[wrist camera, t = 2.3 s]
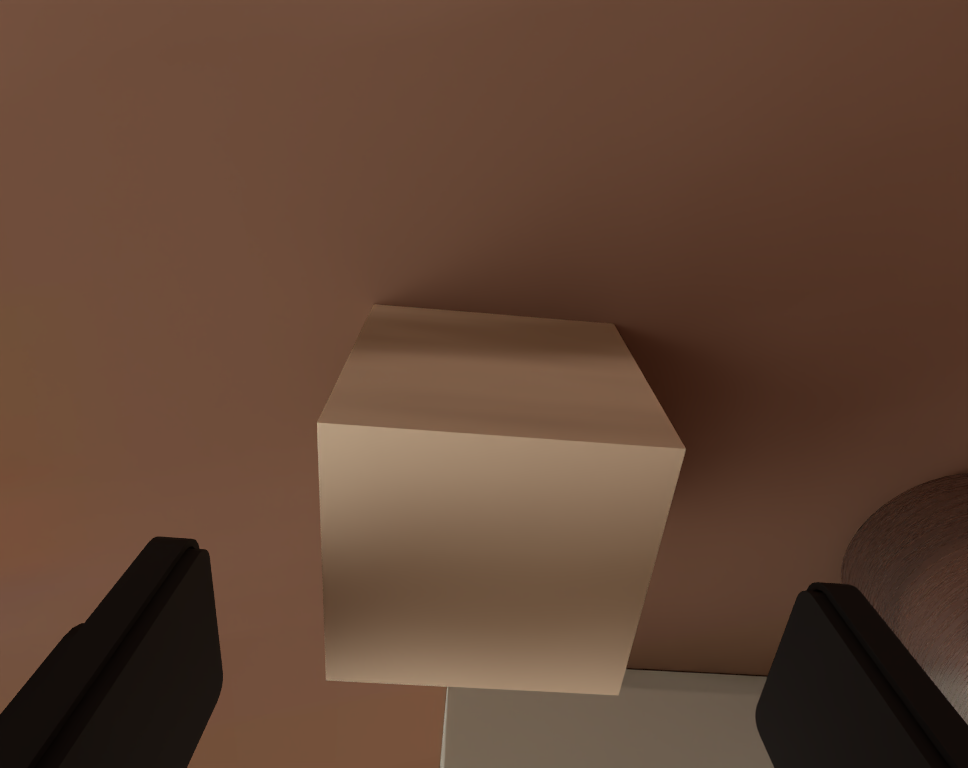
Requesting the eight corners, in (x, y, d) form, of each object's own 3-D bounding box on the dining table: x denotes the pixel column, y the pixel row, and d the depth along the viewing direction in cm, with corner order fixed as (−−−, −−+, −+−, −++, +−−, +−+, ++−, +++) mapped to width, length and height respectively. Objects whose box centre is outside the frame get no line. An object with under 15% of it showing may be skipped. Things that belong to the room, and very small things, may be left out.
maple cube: (374, 303, 13) (317, 422, 8) (613, 322, 13) (686, 449, 8) (372, 499, 15) (326, 680, 10) (576, 513, 15) (618, 695, 11)
